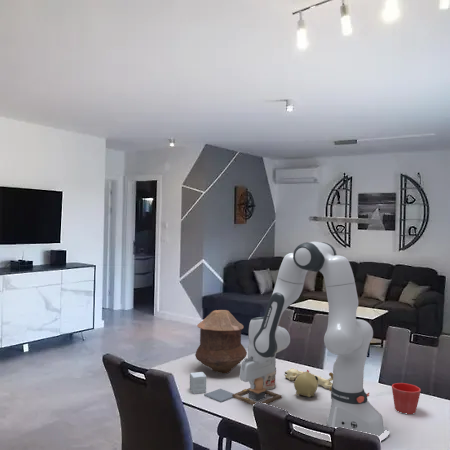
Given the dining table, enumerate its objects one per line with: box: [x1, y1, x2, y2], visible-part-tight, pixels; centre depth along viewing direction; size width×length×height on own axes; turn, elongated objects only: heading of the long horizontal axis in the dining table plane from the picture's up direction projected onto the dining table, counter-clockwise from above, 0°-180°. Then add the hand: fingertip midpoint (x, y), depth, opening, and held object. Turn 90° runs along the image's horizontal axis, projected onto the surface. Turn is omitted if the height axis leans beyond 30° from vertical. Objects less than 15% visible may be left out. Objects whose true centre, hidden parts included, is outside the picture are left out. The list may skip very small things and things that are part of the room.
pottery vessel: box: [194, 309, 248, 374], centre depth 234 cm, size 26×26×30 cm
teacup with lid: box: [263, 366, 277, 390], centre depth 215 cm, size 12×9×12 cm
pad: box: [203, 388, 234, 403], centre depth 201 cm, size 10×10×1 cm
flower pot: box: [391, 382, 421, 415], centre depth 191 cm, size 11×11×10 cm
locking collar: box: [232, 387, 283, 406], centre depth 200 cm, size 15×15×2 cm
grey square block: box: [248, 390, 266, 402], centre depth 200 cm, size 5×5×3 cm
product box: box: [189, 371, 207, 395], centre depth 206 cm, size 6×6×7 cm
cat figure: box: [283, 368, 333, 392], centre depth 219 cm, size 10×9×25 cm
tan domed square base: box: [248, 377, 267, 394], centre depth 200 cm, size 6×5×5 cm
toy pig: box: [293, 371, 319, 398], centre depth 204 cm, size 10×12×11 cm
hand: (257, 386), depth 200 cm, fingers closed on tan domed square base, 5 cm apart
